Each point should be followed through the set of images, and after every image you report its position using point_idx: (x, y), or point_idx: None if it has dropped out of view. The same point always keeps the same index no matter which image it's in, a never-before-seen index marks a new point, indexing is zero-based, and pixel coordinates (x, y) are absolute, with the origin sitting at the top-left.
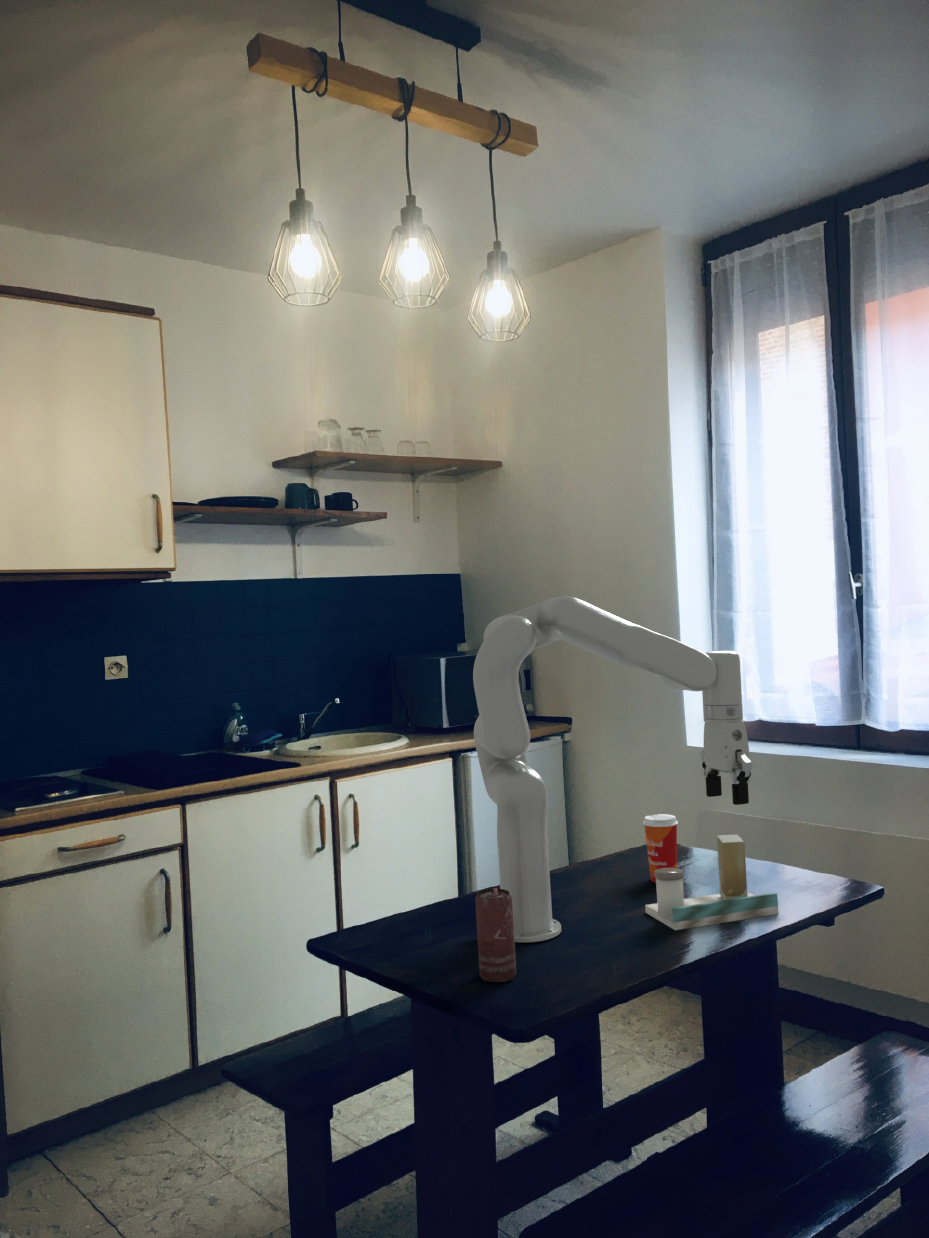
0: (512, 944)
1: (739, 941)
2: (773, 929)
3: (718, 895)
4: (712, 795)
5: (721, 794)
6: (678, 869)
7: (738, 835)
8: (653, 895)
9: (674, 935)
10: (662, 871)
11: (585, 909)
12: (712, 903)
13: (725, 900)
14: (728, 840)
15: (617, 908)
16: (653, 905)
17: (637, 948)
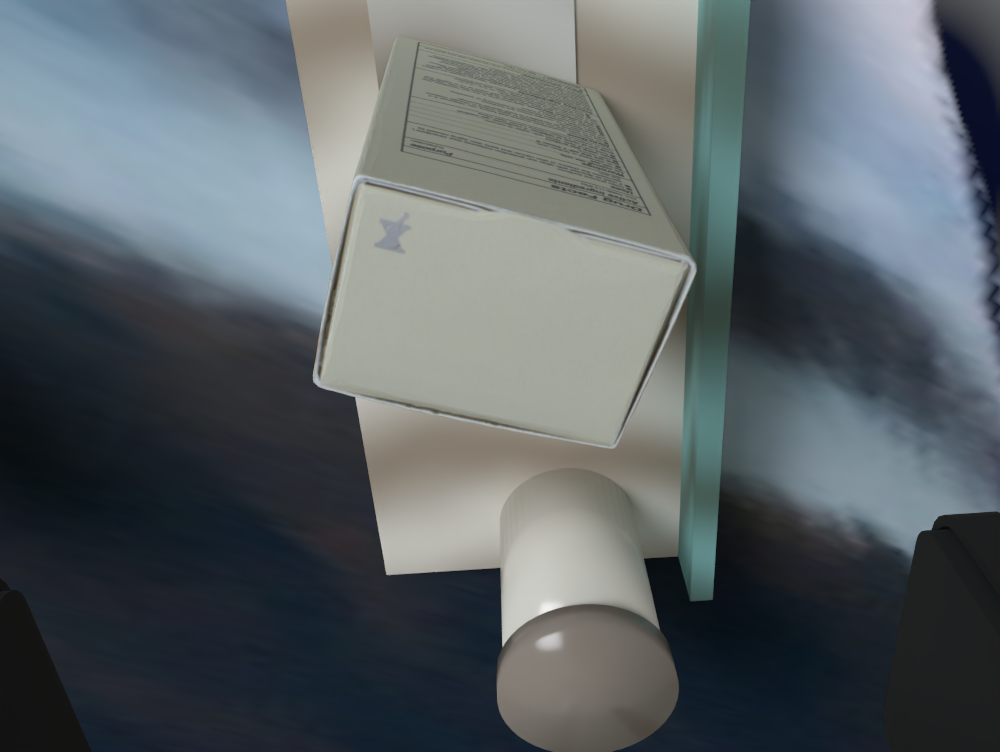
0: None
1: (985, 353)
2: (946, 108)
3: (347, 175)
4: (73, 733)
5: (15, 595)
6: (572, 640)
7: (396, 184)
8: (97, 424)
9: (748, 552)
10: (572, 720)
11: (255, 722)
12: (723, 410)
13: (715, 327)
14: (571, 379)
15: (281, 623)
16: (408, 547)
17: (808, 699)
